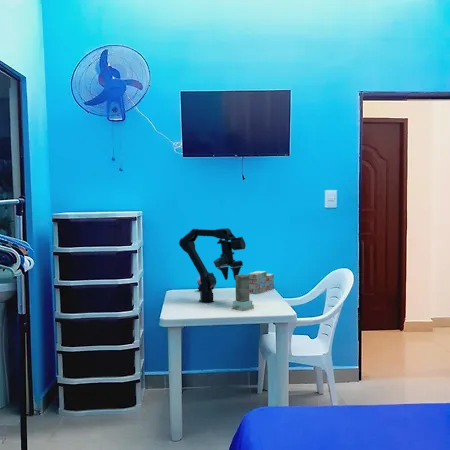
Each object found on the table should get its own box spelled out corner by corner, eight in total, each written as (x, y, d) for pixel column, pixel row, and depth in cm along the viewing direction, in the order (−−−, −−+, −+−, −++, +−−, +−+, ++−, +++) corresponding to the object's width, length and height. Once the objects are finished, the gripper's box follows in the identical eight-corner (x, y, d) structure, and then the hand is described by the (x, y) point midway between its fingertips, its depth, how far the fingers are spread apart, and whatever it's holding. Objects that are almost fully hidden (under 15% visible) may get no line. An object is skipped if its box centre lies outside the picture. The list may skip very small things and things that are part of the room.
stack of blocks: (265, 287, 295) (265, 268, 295) (274, 288, 292) (274, 269, 291) (248, 293, 278) (247, 273, 277) (257, 294, 274) (256, 274, 274)
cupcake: (201, 289, 294) (201, 273, 294) (213, 290, 290) (213, 274, 290) (194, 291, 286) (194, 275, 286) (206, 292, 282) (206, 276, 282)
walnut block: (235, 300, 238) (235, 275, 237) (243, 298, 241) (242, 274, 240) (242, 302, 234) (241, 277, 233) (249, 300, 237) (249, 275, 236)
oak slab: (231, 309, 238) (231, 304, 238) (242, 307, 244) (242, 302, 243) (243, 312, 232) (243, 307, 232) (253, 309, 238) (253, 304, 238)
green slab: (233, 304, 238) (233, 301, 238) (242, 302, 243) (242, 298, 243) (243, 306, 233) (243, 302, 233) (252, 304, 238) (252, 300, 238)
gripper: (205, 253, 253) (209, 282, 252) (223, 252, 237) (228, 282, 237) (222, 251, 259) (226, 278, 258) (241, 249, 243) (245, 279, 243)
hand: (231, 279), depth 249 cm, fingers open, 9 cm apart
